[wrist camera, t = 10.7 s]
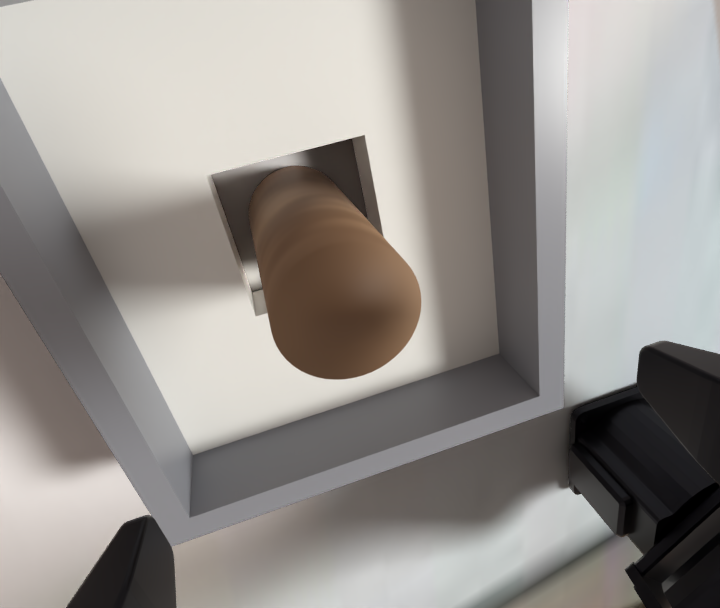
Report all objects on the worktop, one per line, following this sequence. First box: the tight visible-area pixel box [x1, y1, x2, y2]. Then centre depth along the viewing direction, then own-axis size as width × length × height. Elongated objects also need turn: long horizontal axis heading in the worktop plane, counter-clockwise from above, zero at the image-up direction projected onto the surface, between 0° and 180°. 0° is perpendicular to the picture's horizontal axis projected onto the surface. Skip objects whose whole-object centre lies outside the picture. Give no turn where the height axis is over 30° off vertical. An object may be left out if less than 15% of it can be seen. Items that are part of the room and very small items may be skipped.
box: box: [0, 0, 569, 547], centre depth 16 cm, size 15×17×5 cm
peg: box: [249, 166, 421, 380], centre depth 15 cm, size 4×4×8 cm
